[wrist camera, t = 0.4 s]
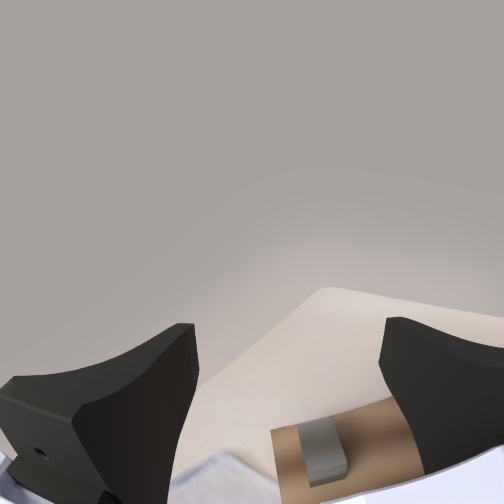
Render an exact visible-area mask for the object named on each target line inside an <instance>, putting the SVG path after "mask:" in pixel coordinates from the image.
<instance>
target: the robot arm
mask: <svg viewBox="0 0 504 504" xmlns="http://www.w3.org/2000/svg"><path fill="white" fill-rule="evenodd" d="M379 366H380V369H381V372H382V374H383V377H384V380H385V382H386V384H387V386H388V388H389V390H390V392H391V393H392V395H393V397H394V399H395V401H396V402H397V404H398V406H399V408H400V410H401V412H402V413H403V415H404V417H405V419H406V421H407V423H408V425H409V427H410V429H411V431H412V434H413V437H414V440H415V443H416V445H417V448H418V452H419V455H420V458H421V462H422V465H423V469H424V473H425V476H423V477H420V478H417V479H413V480H410V481H407V482H403V483H399V484H396V485H392V486H388V487H384V488H380V489H375V490H371V491H366V492H361V493H357V494H354V495H350V496H347V497H343V498H339V499H335V500H331V501H327V502H323V503H320V504H504V348H499V347H493V346H487V345H483V344H479V343H475V342H471V341H467V340H464V339H461V338H458V337H455V336H452V335H450V334H447V333H444V332H442V331H439V330H437V329H434V328H432V327H429V326H427V325H424V324H422V323H419V322H417V321H414V320H411V319H408V318H404V317H391V318H387V319H386V325H385V331H384V337H383V342H382V348H381V353H380V358H379ZM198 375H199V362H198V354H197V346H196V337H195V327H194V324H189V323H177V324H175V325H173V326H172V327H170V328H168V329H166V330H165V331H163V332H161V333H160V334H158V335H156V336H155V337H153V338H151V339H150V340H148V341H147V342H145V343H143V344H141V345H139V346H137V347H135V348H134V349H132V350H130V351H128V352H126V353H124V354H122V355H119V356H117V357H115V358H113V359H110V360H107V361H104V362H102V363H99V364H95V365H92V366H88V367H85V368H81V369H78V370H73V371H68V372H63V373H56V374H48V375H33V376H14V377H13V378H11V379H10V380H9V381H8V382H7V383H6V384H5V385H4V386H3V387H2V388H0V428H1V430H2V431H3V433H4V434H5V436H6V438H7V439H8V441H9V442H10V444H11V445H12V447H13V448H14V450H15V451H16V453H17V454H18V456H17V457H16V458H15V459H14V461H12V460H11V459H10V458H9V457H8V456H7V455H6V454H4V453H3V452H1V451H0V504H167V499H168V492H169V485H170V479H171V473H172V467H173V462H174V457H175V452H176V448H177V443H178V440H179V436H180V433H181V430H182V428H183V425H184V422H185V419H186V416H187V414H188V411H189V408H190V405H191V402H192V399H193V397H194V394H195V391H196V386H197V381H198Z"/></svg>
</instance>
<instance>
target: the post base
mask: <svg viewBox="0 0 504 504" xmlns="http://www.w3.org/2000/svg"><path fill="white" fill-rule="evenodd" d="M270 431H271V437H272V443H273V450H274V456H275V462H276V469H277V475H278V481H279V487H280V493H281V500H282V504H320V503H323V502H327V501H331V500H335V499H339V498H343V497H347V496H350V495H354V494H357V493H361V492H366V491H371V490H375V489H380V488H384V487H388V486H392V485H396V484H399V483H403V482H407V481H410V480H413V479H417V478H420V477H423V476H425V473H424V469H423V465H422V462H421V458H420V455H419V452H418V448H417V445H416V443H415V440H414V437H413V434H412V431H411V429H410V427H409V425H408V423H407V421H406V419H405V417H404V415H403V413H402V412H401V410H400V408H399V406H398V404H397V402H396V401H395V399H394V397H393V396H392V397H390V398H387V399H384V400H381V401H379V402H376V403H373V404H370V405H367V406H364V407H361V408H357V409H354V410H351V411H348V412H344V413H341V414H337V415H334V416H330V417H326V418H323V419H319V420H315V421H311V422H306V423H302V424H298V425H293V426H288V427H283V428H278V429H273V430H270Z"/></svg>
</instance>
